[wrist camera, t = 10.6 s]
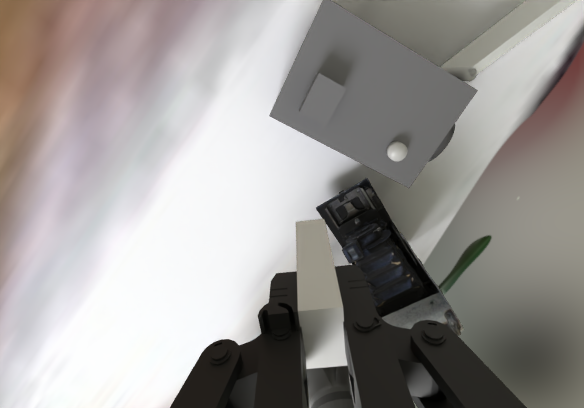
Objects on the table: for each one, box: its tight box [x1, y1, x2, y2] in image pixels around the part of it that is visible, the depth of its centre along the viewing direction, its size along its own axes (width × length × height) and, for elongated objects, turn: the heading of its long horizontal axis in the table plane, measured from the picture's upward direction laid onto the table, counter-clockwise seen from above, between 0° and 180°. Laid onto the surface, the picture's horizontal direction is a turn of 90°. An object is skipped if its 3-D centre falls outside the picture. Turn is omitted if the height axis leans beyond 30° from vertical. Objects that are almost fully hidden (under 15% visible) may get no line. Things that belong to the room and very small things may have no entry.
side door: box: [440, 0, 577, 81], centre depth 35 cm, size 2×13×8 cm, turn 129°
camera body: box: [269, 0, 478, 188], centre depth 36 cm, size 12×20×12 cm, turn 63°
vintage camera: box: [316, 178, 464, 336], centre depth 40 cm, size 10×16×20 cm, turn 33°
